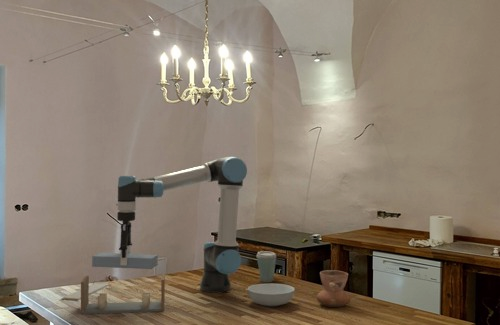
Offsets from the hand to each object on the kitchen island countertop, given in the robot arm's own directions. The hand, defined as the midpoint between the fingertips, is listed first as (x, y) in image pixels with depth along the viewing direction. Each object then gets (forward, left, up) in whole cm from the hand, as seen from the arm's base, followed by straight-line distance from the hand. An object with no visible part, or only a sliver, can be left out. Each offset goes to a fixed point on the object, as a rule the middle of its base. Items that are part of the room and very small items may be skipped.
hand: (125, 262), depth 223 cm
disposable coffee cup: (-69, -38, -18) cm, 81 cm away
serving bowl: (-63, +6, -19) cm, 66 cm away
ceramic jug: (-90, +11, -18) cm, 93 cm away
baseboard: (+21, -26, -19) cm, 38 cm away
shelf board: (0, 0, -1) cm, 1 cm away
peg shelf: (0, +6, -18) cm, 19 cm away
